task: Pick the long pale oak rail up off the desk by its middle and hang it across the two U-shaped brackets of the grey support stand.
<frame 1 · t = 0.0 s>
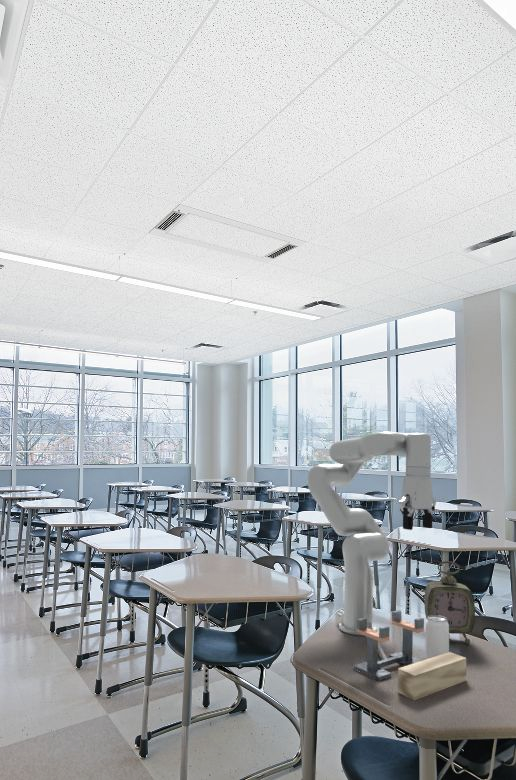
hand: (417, 528, 166), 37 cm above the table, tool pointing down, fingers open, 9 cm apart
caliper: (376, 653, 161), on the table
rail: (433, 687, 138), on the table
grey support stand: (390, 667, 150), on the table
can: (437, 661, 156), on the table
tabletop clock: (448, 640, 174), on the table
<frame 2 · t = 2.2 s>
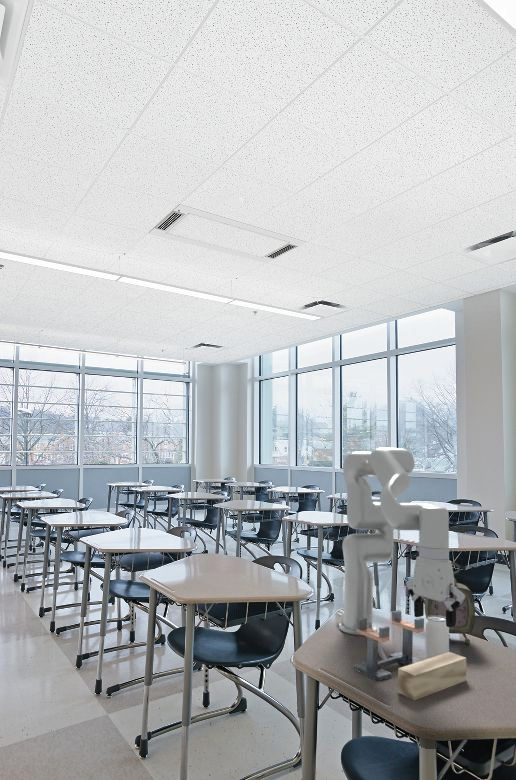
hand: (434, 621, 140), 16 cm above the table, tool pointing down, fingers open, 9 cm apart
nothing on the table moved.
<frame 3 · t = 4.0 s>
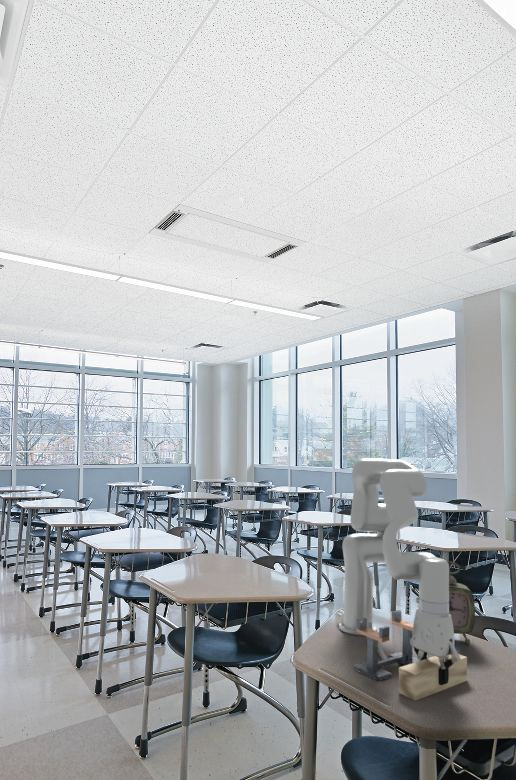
hand: (433, 679, 138), 2 cm above the table, tool pointing down, fingers closed on rail, 5 cm apart
rail: (433, 686, 138), on the table, touching gripper
everything else where it was.
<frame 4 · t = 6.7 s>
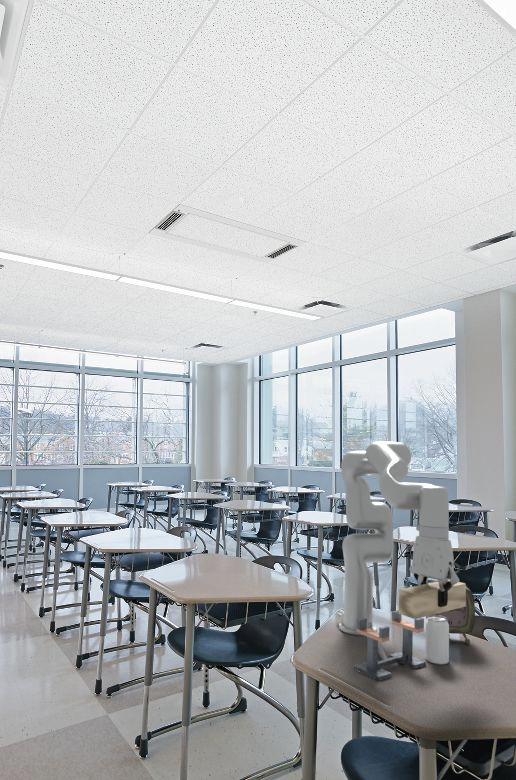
hand: (433, 602, 141), 21 cm above the table, tool pointing down, fingers closed on rail, 5 cm apart
rail: (433, 609, 141), point 19 cm above the table, touching gripper
everything else where it was.
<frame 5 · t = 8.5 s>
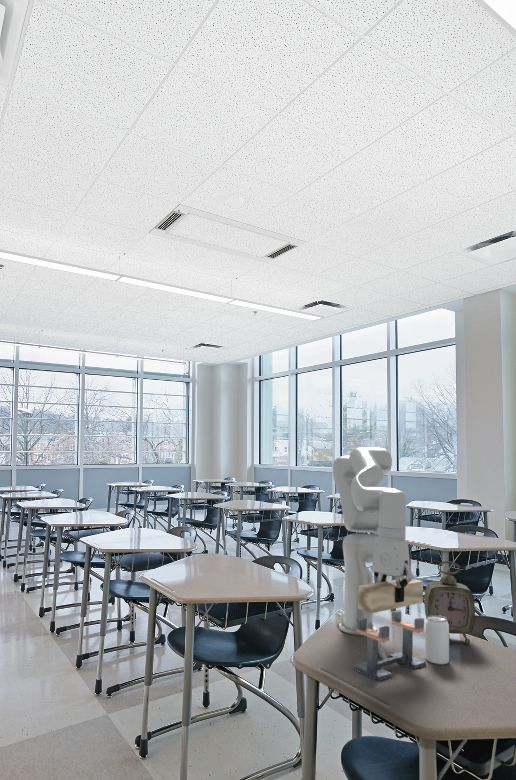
hand: (391, 598, 152), 19 cm above the table, tool pointing down, fingers closed on rail, 5 cm apart
rail: (391, 605, 151), point 17 cm above the table, touching gripper
everything else where it was.
when the fingers open (14 cm above the table, at t = 9.7 s): rail drops 1 cm, resting on grey support stand.
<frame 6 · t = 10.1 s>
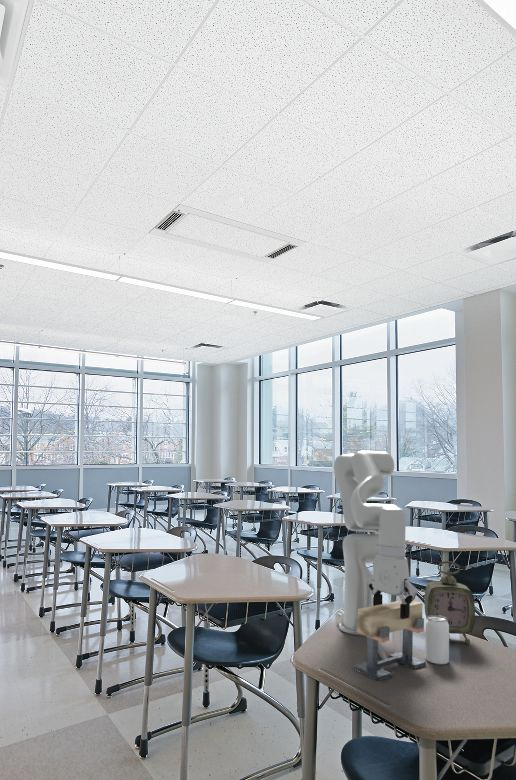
hand: (390, 613, 151), 14 cm above the table, tool pointing down, fingers open, 9 cm apart
rail: (390, 628, 151), point 10 cm above the table, touching grey support stand
everything else where it was.
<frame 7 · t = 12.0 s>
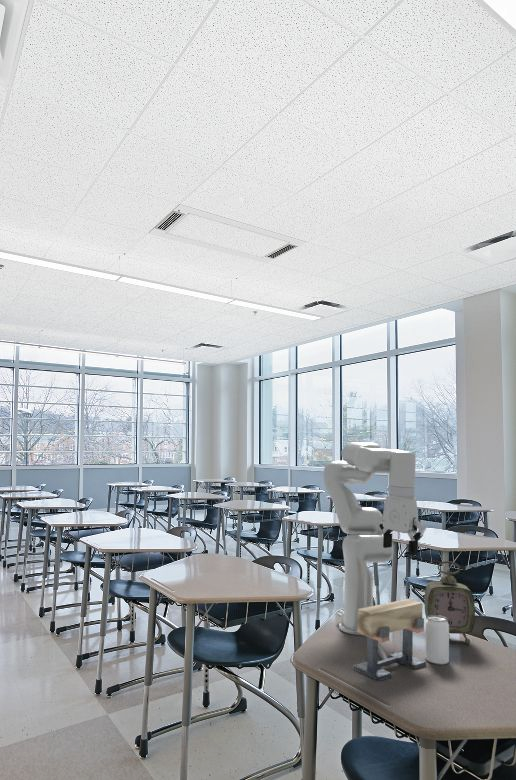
hand: (399, 550, 158), 31 cm above the table, tool pointing down, fingers open, 9 cm apart
nothing on the table moved.
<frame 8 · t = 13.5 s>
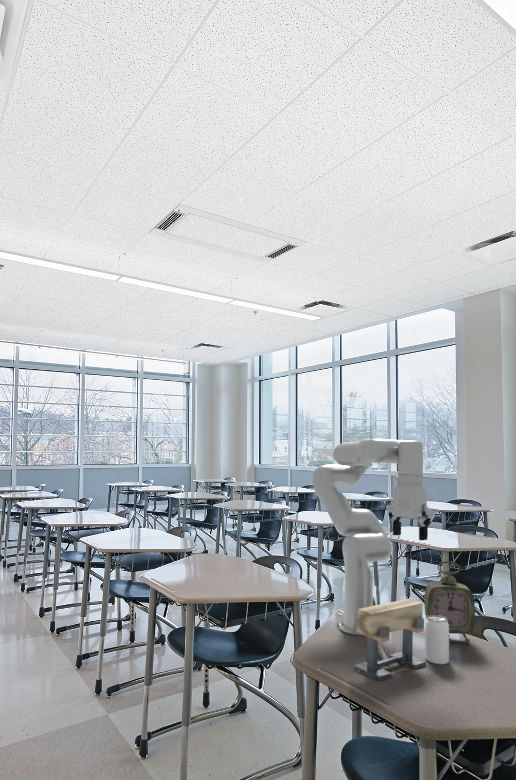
hand: (409, 537, 163), 34 cm above the table, tool pointing down, fingers open, 9 cm apart
nothing on the table moved.
at the end: rail 0.1 cm off-centre on the grey support stand, point 10.5 cm above the grey support stand's base; rail touching grey support stand; the gripper is holding nothing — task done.
